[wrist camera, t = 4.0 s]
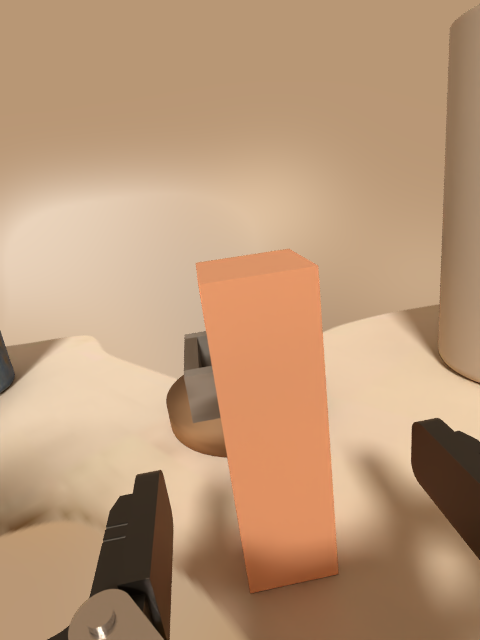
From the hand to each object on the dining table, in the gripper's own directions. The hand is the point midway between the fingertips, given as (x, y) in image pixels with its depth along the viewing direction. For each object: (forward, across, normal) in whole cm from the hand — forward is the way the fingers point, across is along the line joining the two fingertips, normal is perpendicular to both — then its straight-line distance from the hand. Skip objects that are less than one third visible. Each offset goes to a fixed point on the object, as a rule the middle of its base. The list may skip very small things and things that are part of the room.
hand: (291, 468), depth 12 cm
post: (+4, 0, +8) cm, 9 cm away
